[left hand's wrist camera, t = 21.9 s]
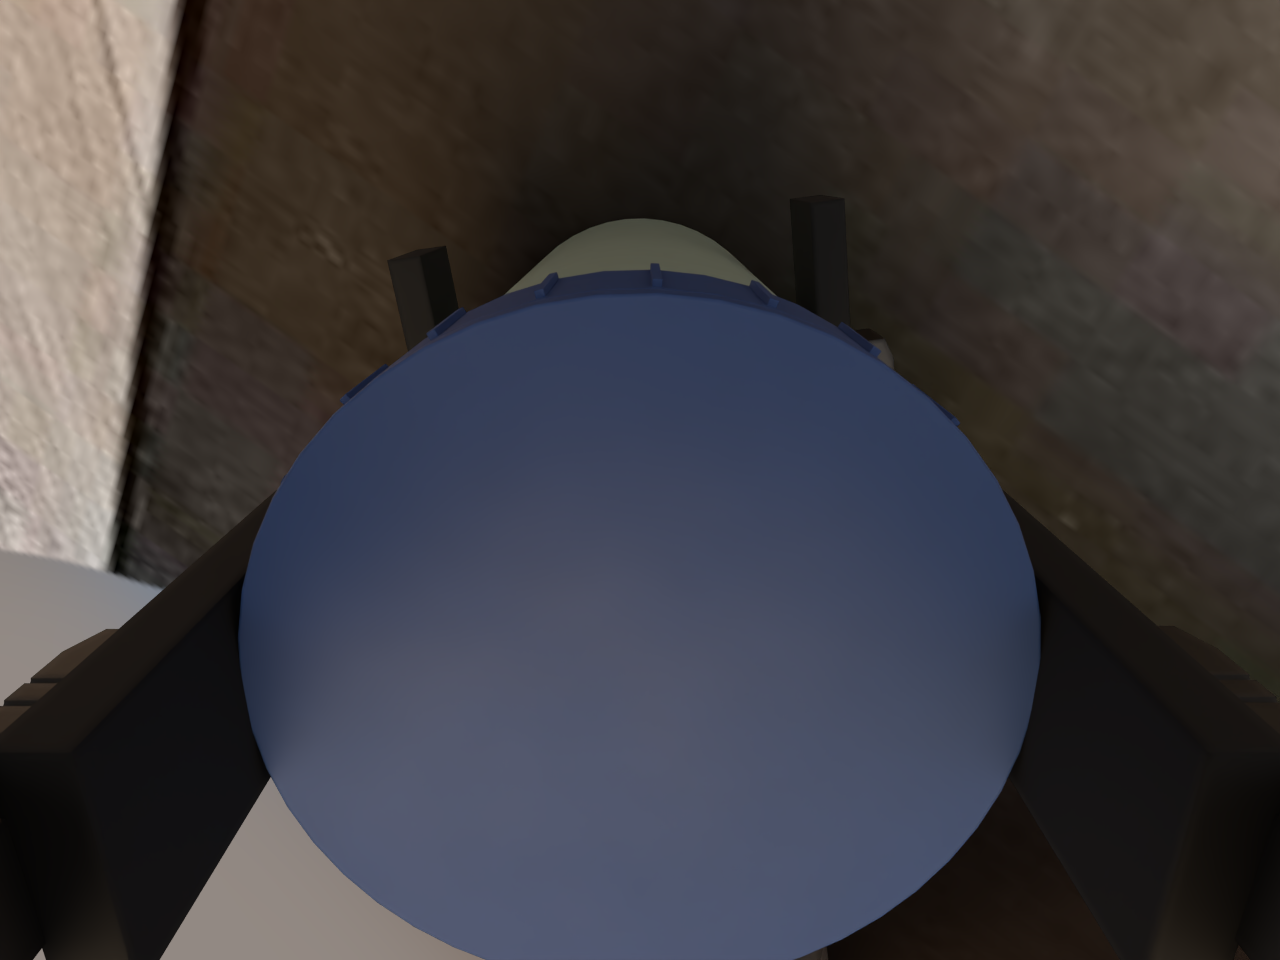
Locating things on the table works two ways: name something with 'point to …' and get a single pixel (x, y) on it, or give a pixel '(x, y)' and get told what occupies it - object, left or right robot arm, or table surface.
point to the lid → (639, 628)
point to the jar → (639, 253)
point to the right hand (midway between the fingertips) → (614, 226)
